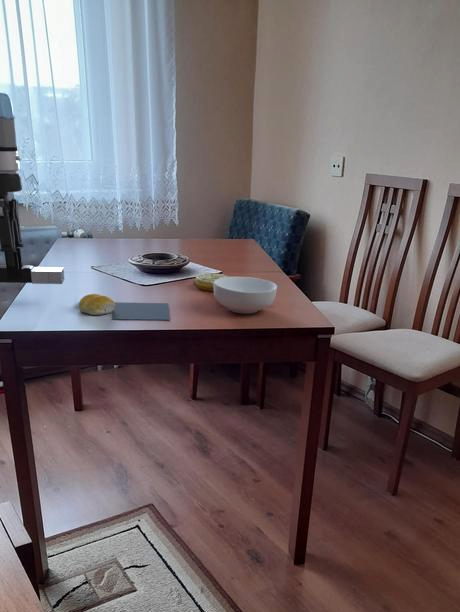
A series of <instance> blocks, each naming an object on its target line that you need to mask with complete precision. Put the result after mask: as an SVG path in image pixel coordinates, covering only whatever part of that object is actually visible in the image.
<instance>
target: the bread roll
mask: <svg viewBox="0 0 460 612" xmlns="http://www.w3.org/2000/svg"><path fill="white" fill-rule="evenodd" d="M114 307H115V301H114V300H113V299H112V298H110V297H109V296H107V295H102V294H99V293H90V294H86V295H84V296H82V297H81V299H80V300H79V303H78V308H79V311H80V312H82V313H84V314H88V315H91V316H102V315H108V314H111V313H113V311H114Z"/></svg>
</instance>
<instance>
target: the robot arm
mask: <svg viewBox="0 0 460 612" xmlns="http://www.w3.org/2000/svg"><path fill="white" fill-rule="evenodd" d="M15 120H16V116H15V114H14V108H13V102H12V98H11V96H10V95H9V94H8V93H5V92H0V252H1V253H4V259H5V265H6V268H7V275H8V279H16V280H20V271H19V265H23V259H22V251H21V248H24V243H23V240H22V233H21V225H20V214H19V213H20V212H19V200H18V199H16V198H15V195H14V193H17V192H21V191H23V185H22V175H21V174H20V173H19V171H20V162H21V161H22V157H21V156H20V155H19V152H18V151H19V150H18V146H17V134H16V123H15Z"/></svg>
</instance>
